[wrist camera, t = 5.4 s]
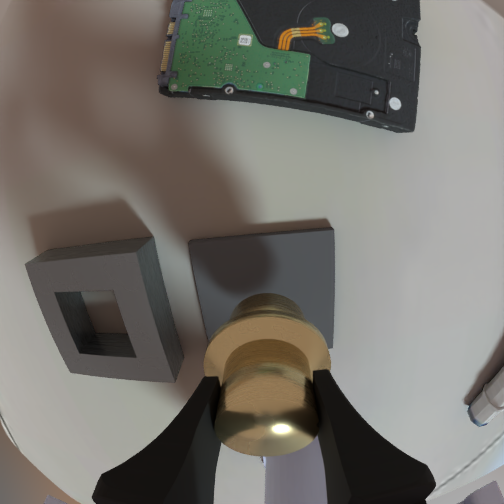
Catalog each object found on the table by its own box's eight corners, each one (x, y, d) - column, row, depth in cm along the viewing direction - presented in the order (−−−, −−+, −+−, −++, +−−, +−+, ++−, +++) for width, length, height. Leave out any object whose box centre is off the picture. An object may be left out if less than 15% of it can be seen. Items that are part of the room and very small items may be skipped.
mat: (332, 227, 18) (334, 230, 18) (331, 343, 21) (332, 348, 21) (190, 240, 19) (188, 243, 18) (213, 352, 22) (212, 356, 21)
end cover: (321, 276, 16) (356, 373, 9) (316, 362, 18) (334, 461, 11) (209, 281, 16) (172, 378, 9) (221, 365, 18) (203, 464, 11)
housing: (153, 236, 19) (136, 252, 16) (184, 357, 22) (175, 382, 19) (47, 250, 20) (24, 264, 17) (84, 352, 23) (70, 372, 20)
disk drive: (403, 6, 13) (192, -27, 13) (420, -8, 10) (183, -47, 10) (397, 134, 17) (167, 102, 16) (417, 134, 14) (152, 95, 14)
